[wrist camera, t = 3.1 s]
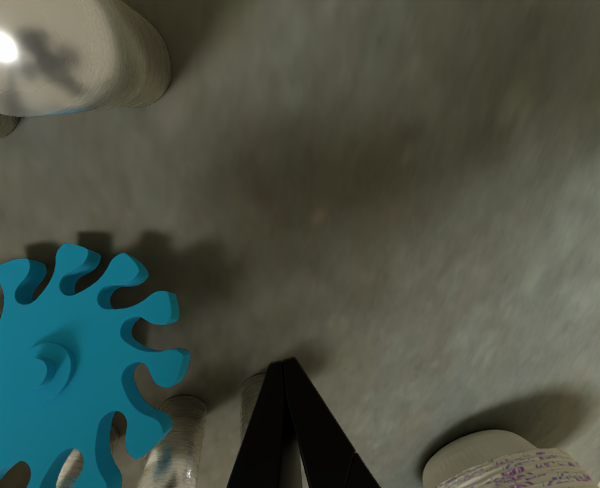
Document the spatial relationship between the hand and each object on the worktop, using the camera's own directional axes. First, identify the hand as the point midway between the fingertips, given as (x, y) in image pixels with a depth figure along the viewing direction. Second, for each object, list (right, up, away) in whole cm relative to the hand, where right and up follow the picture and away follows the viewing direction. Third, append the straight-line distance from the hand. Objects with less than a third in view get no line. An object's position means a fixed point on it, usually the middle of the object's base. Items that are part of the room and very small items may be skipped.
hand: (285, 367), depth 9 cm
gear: (-10, +1, +5) cm, 12 cm away
